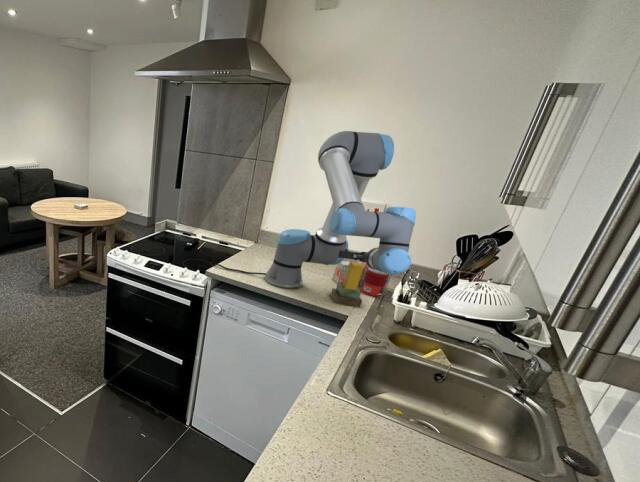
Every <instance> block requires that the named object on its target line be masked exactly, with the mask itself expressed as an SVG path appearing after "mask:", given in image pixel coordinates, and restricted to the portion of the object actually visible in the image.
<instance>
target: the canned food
mask: <svg viewBox="0 0 640 482" xmlns="http://www.w3.org/2000/svg"><path fill="white" fill-rule="evenodd" d="M388 277H389V274H388V273H384V272H383V273H380V271H378V270H374V269H371V268H370V267H369V268H368V270H367V273H366V276H365V279H364V282H363V285H362V286H361V288H360V291H361V294H364V295H366V296H370V297H375V298H379V297H381V296H382V295H377V294H379V293H382V294H383V292H384V290H385V289H384V287H385V285H386V282H387V279H388Z"/></svg>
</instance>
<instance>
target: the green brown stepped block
mask: <svg viewBox="0 0 640 482" xmlns="http://www.w3.org/2000/svg"><path fill="white" fill-rule="evenodd" d="M361 294H362V292H361V289H360V288H358V287H357V289H356V290H352V289H345V287H344V286H343V284H341V283H337V284H336V287H335V288H333V287H332V289H331V291H330V297H331V298H332V300H333V302H334V303H335V305H336V304H337V305H342V306H349V307H355V308H361V306H362V302H363V299H362V298H361Z"/></svg>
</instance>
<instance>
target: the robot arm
mask: <svg viewBox="0 0 640 482" xmlns="http://www.w3.org/2000/svg"><path fill="white" fill-rule="evenodd" d="M394 155H395V143H394V140H393V138H392V136H390V135H389V134H384V133H379V132H364V131H353V130H342V131H338V132H336V133H334V134H332V135H331V136H329V137H328V138H327V139H326V140H325V141H324V142H323V143H322V145H321V146H320V148H319V150H318V155H317V162H318V164H319V167H320V169H321V170H322V171H323V172H324V174H325V179H326V182H327V186H328V189H329V192H330V196H331V197H330V198H331V200H332V204H331V206H330V207H329V208H330V209H329V211H328V213H327V216H326V218H325V220H324V223H323V226H322V227H320V228H318V229H317V230H316V232H315V234H311V232H310V231H309V230H306V229H298V228H289V229H285V230H283V231H281V233H280V234H279V237H278V240H277V245H276V249H275V253H274V256H273V260H272V261H273V262H272V264H271V265H270V267H269V269H268V270H267V272H253V271H245V270H242V269H236V268H231V267H230V268H229V267H226V266H224V265H222V264H220V263H215V264H212V267H217V266H218V267H220V268H222V269H224V270H227V271H232V272H233V271H234V272H238V273H243V274H247V275H261V276H264V280H265V281H266V282H267V283H268V284H270V285H272V286H275V287H278V288H282V289H290V290H295V289H299V288H301V286H302V284H303V277H302V276H303V275H302V267H303V263H311V264H319V265H325V266H335V265H336V266H337V264H339V263H340V262H341V261H344V260H345V259H347V260H354V261H359V260H360V261H361V262H366V264H367V265H368V266H369V267H370V268H371V269H374V270H378V271H380V273H383V272H384V273H388V274H392V275H399V274H403V273H404V272H406V271H407V270H409V268H410V266H411V265H412V264H411V263H412V258H411V255H410V253H409V250H410V243H411V238H412V235H413V232H414V227H415V225H416V216H417V211H416V209H415V208H412V207H407V206H389V207H388V206H387V208H386V209H385V212H383V211H369V210H366V209H365V206H364V202H363V199H362V197H363V195H364V193H365V190H366V189H367V187H368V184H369V182H370V181H371V180H372V179H373V178H376V177H377V176H378V174H379V172H380V171H383V170H386V169H387V168H389V166H390V165H391V163H392V161H393V158H394ZM347 236H351V237H363V238H373V239H379V242H378V247H377V246H376V247H374V248H372V249H370V250H368V251H361V252H358V251H357V252H356V251H350V250H349V241H348V240H347V239H348V238H347Z"/></svg>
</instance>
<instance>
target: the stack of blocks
mask: <svg viewBox="0 0 640 482" xmlns="http://www.w3.org/2000/svg"><path fill="white" fill-rule="evenodd" d="M350 262H351V261H347V260H342V261H341V262H340V263H339V264H336V267H335V270H334V273H333V276H332V280H334V282H335V283H337V284H338V283H341V284H343V282H344V279H345V276H346V273H347V270H348V267H349V264H350ZM354 262H355V263H357V261H354ZM358 263H361V264H362V265H363V266H364V268H363V271H362V274H361V277H360V280H359V283H358V286H357V287H362V285H363V282H364V279H365V276H366V273H367V270H368V268H369V266H368V265H367V264H366V262H361V261H360V260H358ZM392 276H393V274H389V277H388V279H387V282H386V285H385V287H384V290H387V287H388V285H389V283H390V280H391V277H392Z"/></svg>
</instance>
